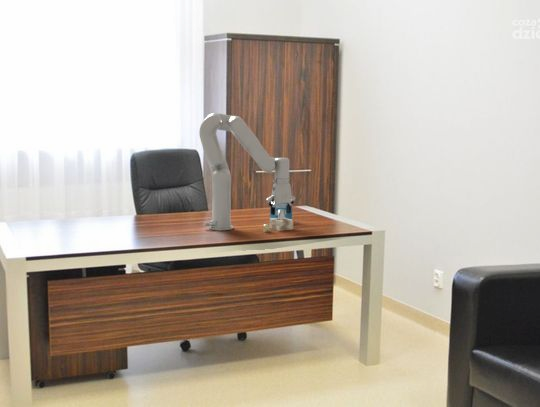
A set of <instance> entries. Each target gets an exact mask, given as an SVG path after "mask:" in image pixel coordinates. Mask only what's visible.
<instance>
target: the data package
mask: <svg viewBox="0 0 540 407" xmlns="http://www.w3.org/2000/svg"><path fill="white" fill-rule="evenodd" d="M286 206H287V203H283V204H276V205H275V206H274V207H275V215H272V214H271V212H270V210H271V207H270V206H269V220H270V219H271V218H278V210H280V209H283V210H284V217H285V218H288V219H292V220H293V205H292V206H291V213H290V214H289V213H286Z"/></svg>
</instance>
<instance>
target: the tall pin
mask: <svg viewBox="0 0 540 407" xmlns="http://www.w3.org/2000/svg"><path fill="white" fill-rule="evenodd" d="M278 220H284V210H283V209H280V210H278Z"/></svg>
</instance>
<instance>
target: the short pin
mask: <svg viewBox="0 0 540 407" xmlns="http://www.w3.org/2000/svg"><path fill="white" fill-rule="evenodd" d="M270 231H271V228H270V223H263V231H262V232H263V233H265V234H268V233H271V232H270Z"/></svg>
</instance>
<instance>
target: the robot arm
mask: <svg viewBox="0 0 540 407" xmlns="http://www.w3.org/2000/svg"><path fill="white" fill-rule="evenodd" d="M217 130H219V131H223V132H224V131H225V132H231V133H232V135H233V137H234V138H235V139H236V140H237V141H238V143H239V144H240V145H241V146H242V147H243V149H244V150H245V152H247V153H248V154H249V155H250V156H251V158H252V159H253V160H254V161H255V163H256V164H257V165H258V167H259V168H260V169H261V170H262V171H263V172H265V173H266V174H267V173H273V171H274V178H273V179H272V183H274V184H272V188H271V196H269V197H267V198H266V200H265V201H266V202H267V204H268V206H269V208H270V207H271V210H270V209H269V213H270V212H271V214H272V215H275V207H274V206H275V205H276V204H283V203H287V206H286V213H289V214H290V213H291V206H292V207H293V205H294V203H295V200H296V196H294V195H293V194H292V187H291V186H292V185H291V183H290V158H288V157H273V156H272V157H271V156H270V155H269V153H268V152H267V151H266V149H265V148H264V147H263V145H262V144H261V142H260V141H259V138H258V137H257V135H255V133H254V132H253V131H252V129H251V128H250V127H249V126H248V125H247V123H246V122H245V121H244V120H243V118H242V117H240V116H238V115H229V114H225V113H218V112H212V113H209V114H208V115H207V116H206V117H205V118H204V120H203V121H202V122H201V124H200V127H199V133H198V134H199V139H200V142H201V145H202V149H203V152H204V156H205V160H206V162H207V164H208V167H209V169H210V173H211V175H212V176H211V191H212V192H211V193H212V194H211V199H212V200H211V202H212V205H211V206H212V207H211V208H212V213H211V214H212V215H211V216H212V218H211V219H210V221H207V222H206V221H205V222H203V226H204V227H209V228H208V229H209V230H212V231H217V232H218V231H233V229H234V228H235V227H234V226H233V225H232V221H231V216H232V215H231V209H232V207H231V203H232V202H231V200H232V198H231V193H232V192H231V191H232V189H231V187H232V185H231V184H232V176H231V171H230V169H229V165H228V162H227V159H226V156H225V154H224V151H223V150H222V148H221V146H220V143H219V140H218V136H217Z"/></svg>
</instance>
